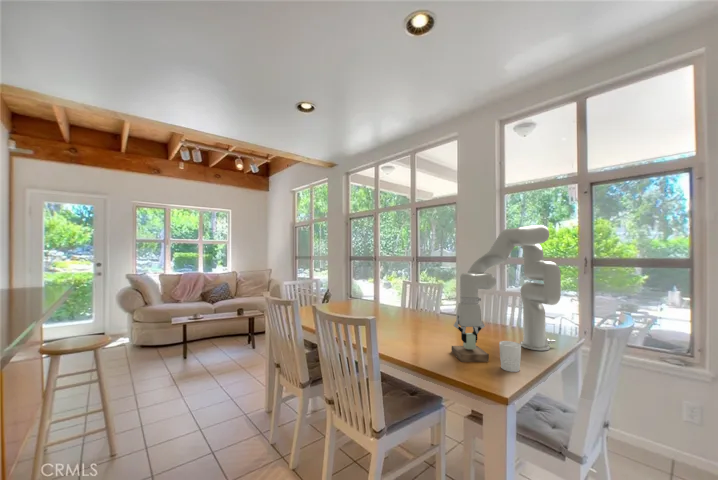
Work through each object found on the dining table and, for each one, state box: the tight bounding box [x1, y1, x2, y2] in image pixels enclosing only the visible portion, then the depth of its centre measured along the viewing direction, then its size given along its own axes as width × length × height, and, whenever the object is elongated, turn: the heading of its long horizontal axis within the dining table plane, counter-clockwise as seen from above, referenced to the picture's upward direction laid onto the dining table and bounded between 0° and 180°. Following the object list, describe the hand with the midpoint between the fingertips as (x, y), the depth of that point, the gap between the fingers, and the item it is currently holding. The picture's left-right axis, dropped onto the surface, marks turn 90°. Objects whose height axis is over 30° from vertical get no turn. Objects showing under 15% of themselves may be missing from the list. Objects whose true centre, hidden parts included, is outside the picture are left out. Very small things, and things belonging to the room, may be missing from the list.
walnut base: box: [451, 345, 490, 363], centre depth 136 cm, size 12×12×3 cm
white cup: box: [498, 340, 522, 373], centre depth 122 cm, size 8×8×10 cm
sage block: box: [462, 332, 477, 349], centre depth 136 cm, size 4×4×6 cm
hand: (469, 341), depth 136 cm, fingers closed on sage block, 4 cm apart
